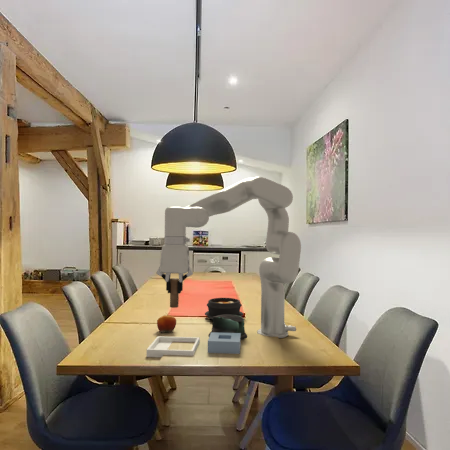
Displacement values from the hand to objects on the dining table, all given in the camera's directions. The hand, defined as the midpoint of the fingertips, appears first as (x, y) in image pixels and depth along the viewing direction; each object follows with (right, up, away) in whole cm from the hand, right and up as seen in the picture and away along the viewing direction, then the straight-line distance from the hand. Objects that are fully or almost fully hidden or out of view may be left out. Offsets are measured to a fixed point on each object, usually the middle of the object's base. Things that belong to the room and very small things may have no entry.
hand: (174, 292), depth 145 cm
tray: (0, -21, 0) cm, 21 cm away
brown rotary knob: (+19, -21, +15) cm, 33 cm away
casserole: (+18, -21, +50) cm, 57 cm away
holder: (+18, -21, 0) cm, 28 cm away
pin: (0, -5, 0) cm, 5 cm away
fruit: (-6, -21, +25) cm, 33 cm away
